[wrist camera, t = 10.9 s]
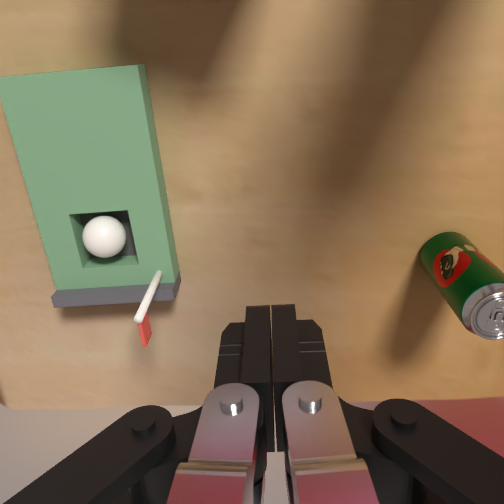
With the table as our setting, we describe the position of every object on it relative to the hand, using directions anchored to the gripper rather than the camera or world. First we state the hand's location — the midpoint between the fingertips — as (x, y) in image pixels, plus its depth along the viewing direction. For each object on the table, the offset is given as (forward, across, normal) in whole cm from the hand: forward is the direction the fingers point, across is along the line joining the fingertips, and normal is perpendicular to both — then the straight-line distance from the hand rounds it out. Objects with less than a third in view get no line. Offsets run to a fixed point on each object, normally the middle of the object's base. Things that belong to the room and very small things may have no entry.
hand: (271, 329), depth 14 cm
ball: (+28, +16, +8) cm, 33 cm away
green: (+30, +16, +3) cm, 35 cm away
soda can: (+31, -17, +13) cm, 37 cm away
